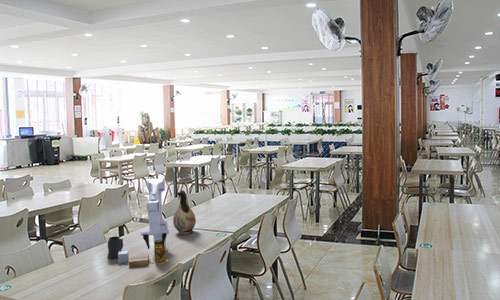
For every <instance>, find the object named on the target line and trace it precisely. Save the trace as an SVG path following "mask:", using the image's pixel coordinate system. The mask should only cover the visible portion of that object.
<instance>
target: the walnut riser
mask: <svg viewBox="0 0 500 300" xmlns="http://www.w3.org/2000/svg"><path fill="white" fill-rule="evenodd" d="M149 255H150V254H149V253H145V254H134V255H133V254H132V255H130V256H129V260H128V268H134V267H145V266H149V263H150V256H149Z"/></svg>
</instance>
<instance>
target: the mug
mask: <svg viewBox="0 0 500 300" xmlns="http://www.w3.org/2000/svg"><path fill="white" fill-rule="evenodd" d="M123 240H124V239H123V238H120V236H110V237H109V238H108V240H107V250H108V252H107V256H106V258H107V259H108V260H118V253H119V251H123V248H124V241H123Z"/></svg>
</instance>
